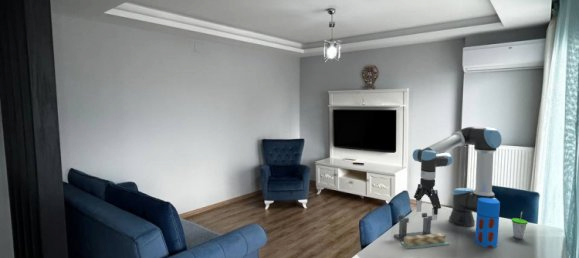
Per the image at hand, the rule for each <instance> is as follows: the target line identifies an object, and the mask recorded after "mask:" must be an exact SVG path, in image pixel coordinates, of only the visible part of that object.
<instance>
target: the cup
mask: <svg viewBox="0 0 579 258" xmlns="http://www.w3.org/2000/svg"><path fill="white" fill-rule="evenodd" d="M522 216H523V211H521V212H520V218H516V217H513V218H511V222H512V230H513V231H512V234H513V238H515V239H519V240H522V239H524V235H525V231H526V228H527V225H528V221H527V220H525V219H522Z"/></svg>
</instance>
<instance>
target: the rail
mask: <svg viewBox="0 0 579 258" xmlns="http://www.w3.org/2000/svg"><path fill="white" fill-rule="evenodd" d="M445 241H446V235H445V234H443V233H441V232H439V233H432V234H427V235H417V236H406V237H404V241H403V242H404V244H405V245H406V246H416V245H426V244H435V243H445Z"/></svg>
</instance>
